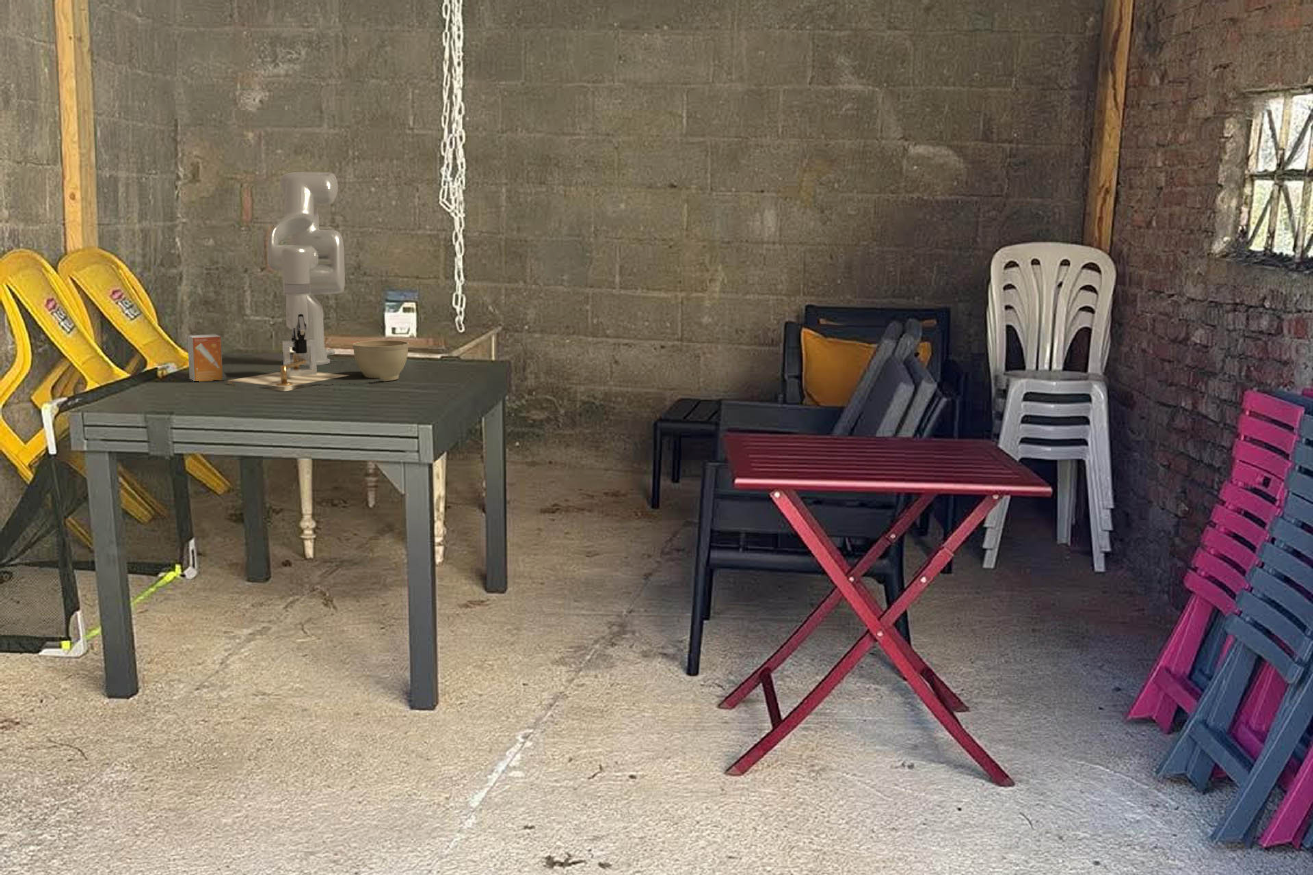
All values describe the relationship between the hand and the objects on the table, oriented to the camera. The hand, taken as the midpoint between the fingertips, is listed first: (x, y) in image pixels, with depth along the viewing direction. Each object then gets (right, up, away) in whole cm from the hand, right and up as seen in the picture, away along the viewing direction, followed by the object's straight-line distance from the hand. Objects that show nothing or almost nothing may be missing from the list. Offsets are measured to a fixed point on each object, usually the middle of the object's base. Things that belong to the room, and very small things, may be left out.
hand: (299, 351), depth 375 cm
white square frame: (0, -7, +1) cm, 7 cm away
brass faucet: (-1, -8, -5) cm, 10 cm away
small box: (-27, -9, -2) cm, 28 cm away
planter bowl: (+24, -8, +2) cm, 25 cm away
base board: (-2, -9, -5) cm, 10 cm away
